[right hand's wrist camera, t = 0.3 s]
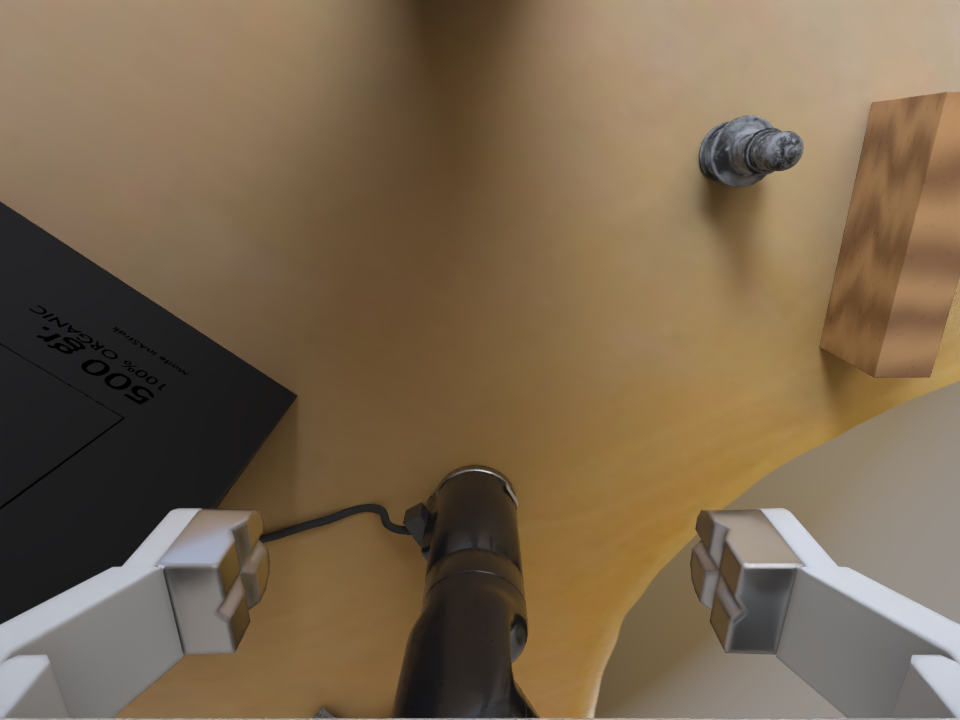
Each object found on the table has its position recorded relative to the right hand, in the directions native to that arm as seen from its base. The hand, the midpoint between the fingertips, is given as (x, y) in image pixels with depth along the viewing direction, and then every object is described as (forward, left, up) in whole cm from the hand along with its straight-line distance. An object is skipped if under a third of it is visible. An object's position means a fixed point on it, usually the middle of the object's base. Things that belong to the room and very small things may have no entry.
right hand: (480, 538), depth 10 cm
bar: (0, +38, -47) cm, 60 cm away
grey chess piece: (-7, +23, -47) cm, 53 cm away
